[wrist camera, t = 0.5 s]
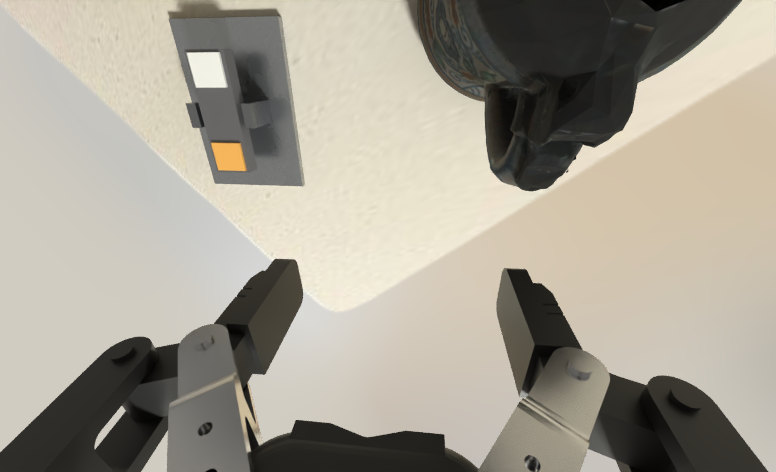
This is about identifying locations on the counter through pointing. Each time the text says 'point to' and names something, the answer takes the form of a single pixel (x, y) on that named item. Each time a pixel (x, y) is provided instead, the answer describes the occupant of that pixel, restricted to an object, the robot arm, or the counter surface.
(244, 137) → the lever
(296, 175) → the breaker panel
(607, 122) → the beer stein
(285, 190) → the counter surface
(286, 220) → the counter surface
